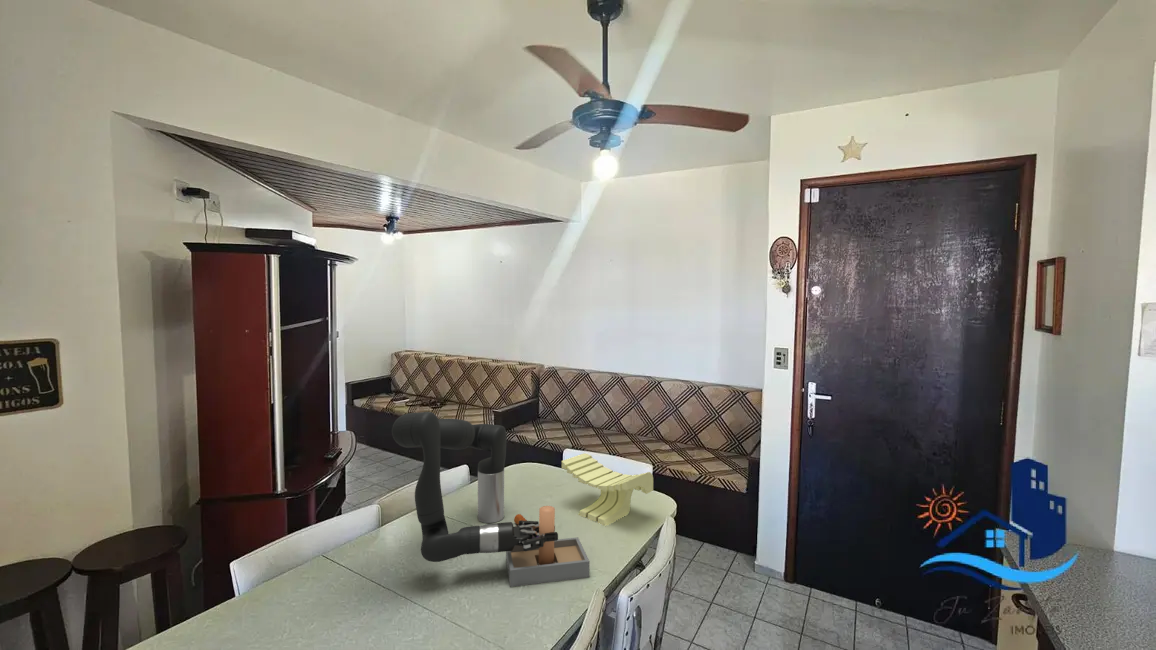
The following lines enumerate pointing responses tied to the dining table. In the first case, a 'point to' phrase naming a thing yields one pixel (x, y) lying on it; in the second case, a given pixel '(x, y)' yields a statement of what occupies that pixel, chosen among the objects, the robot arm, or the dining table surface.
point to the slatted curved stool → (607, 488)
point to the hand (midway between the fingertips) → (555, 532)
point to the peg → (546, 527)
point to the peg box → (567, 564)
